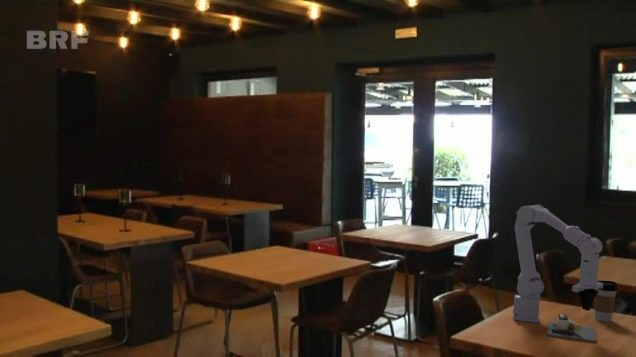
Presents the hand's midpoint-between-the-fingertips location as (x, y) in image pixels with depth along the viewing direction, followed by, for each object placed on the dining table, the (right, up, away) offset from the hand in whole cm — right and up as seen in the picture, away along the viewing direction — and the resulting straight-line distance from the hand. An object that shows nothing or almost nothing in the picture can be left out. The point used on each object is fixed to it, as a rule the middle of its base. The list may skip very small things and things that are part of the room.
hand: (586, 309), depth 218 cm
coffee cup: (+16, -9, +21) cm, 27 cm away
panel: (-4, -9, +3) cm, 10 cm away
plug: (-8, -9, +2) cm, 12 cm away
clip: (-5, -7, +4) cm, 9 cm away
